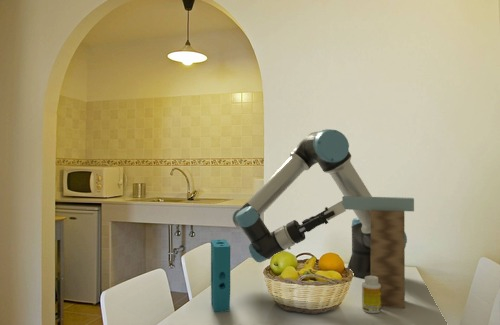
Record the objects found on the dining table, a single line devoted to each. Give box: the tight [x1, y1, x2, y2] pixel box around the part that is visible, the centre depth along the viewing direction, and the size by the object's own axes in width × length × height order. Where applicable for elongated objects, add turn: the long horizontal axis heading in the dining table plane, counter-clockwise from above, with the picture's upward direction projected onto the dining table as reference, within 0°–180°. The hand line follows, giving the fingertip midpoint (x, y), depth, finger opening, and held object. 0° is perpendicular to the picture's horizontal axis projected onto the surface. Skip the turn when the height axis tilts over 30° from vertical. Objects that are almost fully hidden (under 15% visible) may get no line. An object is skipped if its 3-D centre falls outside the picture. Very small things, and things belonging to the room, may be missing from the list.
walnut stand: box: [371, 210, 406, 309], centre depth 130 cm, size 10×8×30 cm
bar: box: [341, 195, 415, 212], centre depth 131 cm, size 22×4×4 cm, turn 74°
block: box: [210, 239, 231, 313], centre depth 126 cm, size 12×5×20 cm, turn 11°
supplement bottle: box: [361, 276, 382, 314], centre depth 122 cm, size 6×6×10 cm
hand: (345, 204), depth 133 cm, fingers open, 13 cm apart
